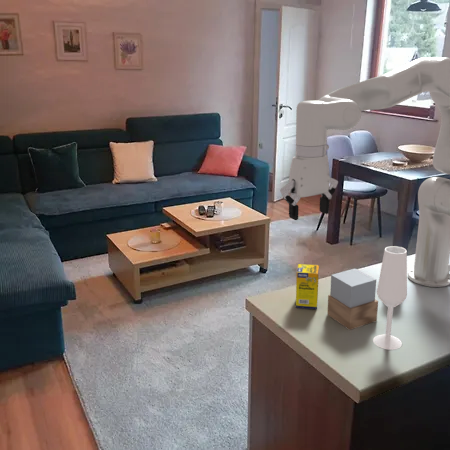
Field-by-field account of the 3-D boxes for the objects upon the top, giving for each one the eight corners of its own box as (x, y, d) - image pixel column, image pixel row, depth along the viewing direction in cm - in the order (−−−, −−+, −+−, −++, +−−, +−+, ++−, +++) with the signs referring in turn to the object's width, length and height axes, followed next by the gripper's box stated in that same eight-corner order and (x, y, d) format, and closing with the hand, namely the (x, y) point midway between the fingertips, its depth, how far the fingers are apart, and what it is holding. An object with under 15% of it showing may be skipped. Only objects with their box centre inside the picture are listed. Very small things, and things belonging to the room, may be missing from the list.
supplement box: (317, 309, 135) (318, 273, 131) (295, 308, 136) (296, 272, 132) (317, 299, 140) (319, 264, 137) (296, 298, 141) (297, 263, 138)
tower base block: (353, 306, 136) (354, 287, 134) (376, 321, 128) (378, 301, 126) (327, 314, 132) (328, 295, 130) (349, 330, 125) (350, 309, 123)
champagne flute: (385, 352, 115) (394, 257, 107) (367, 338, 120) (373, 247, 113) (408, 345, 117) (418, 252, 109) (388, 331, 123) (396, 242, 115)
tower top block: (353, 288, 133) (355, 268, 131) (374, 300, 126) (376, 279, 125) (330, 295, 130) (331, 274, 128) (350, 308, 123) (351, 286, 121)
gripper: (329, 145, 130) (326, 207, 136) (273, 152, 123) (273, 217, 129) (347, 149, 124) (344, 214, 129) (290, 157, 117) (289, 225, 122)
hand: (309, 215), depth 129 cm, fingers open, 9 cm apart
